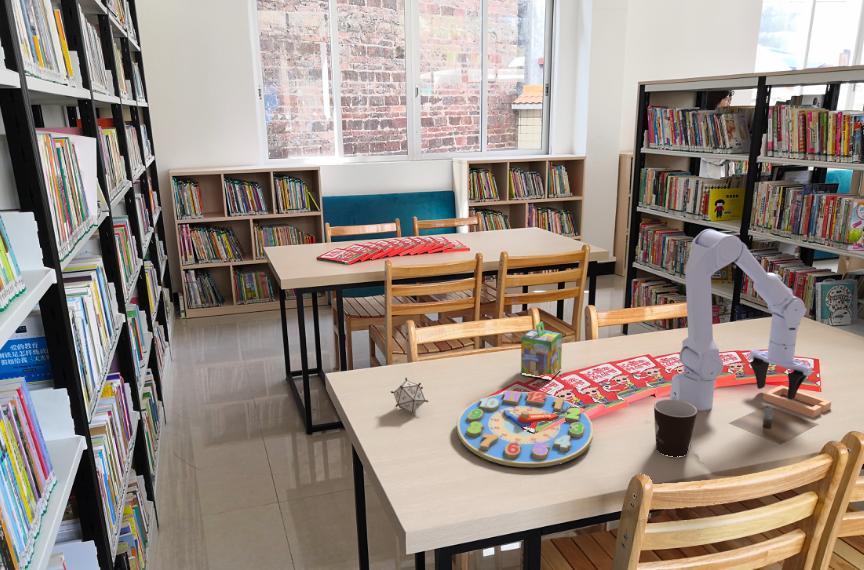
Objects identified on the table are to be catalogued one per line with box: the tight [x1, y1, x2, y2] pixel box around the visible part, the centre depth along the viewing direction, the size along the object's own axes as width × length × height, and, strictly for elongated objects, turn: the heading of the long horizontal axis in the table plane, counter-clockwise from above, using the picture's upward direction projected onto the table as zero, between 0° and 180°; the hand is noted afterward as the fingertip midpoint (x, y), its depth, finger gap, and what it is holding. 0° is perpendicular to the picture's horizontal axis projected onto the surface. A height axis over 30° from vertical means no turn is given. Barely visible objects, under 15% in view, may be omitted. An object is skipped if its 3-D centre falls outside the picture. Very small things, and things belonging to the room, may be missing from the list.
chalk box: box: [520, 321, 563, 376], centre depth 177 cm, size 9×9×15 cm
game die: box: [390, 377, 429, 414], centre depth 156 cm, size 9×8×10 cm
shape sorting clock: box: [456, 390, 594, 468], centre depth 143 cm, size 31×30×6 cm
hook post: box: [763, 406, 774, 429], centre depth 143 cm, size 2×2×4 cm
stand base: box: [729, 405, 819, 445], centre depth 145 cm, size 16×12×1 cm
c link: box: [762, 384, 832, 418], centre depth 154 cm, size 12×8×3 cm, turn 33°
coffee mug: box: [653, 398, 698, 458], centre depth 136 cm, size 12×9×10 cm
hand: (775, 392), depth 158 cm, fingers open, 7 cm apart
